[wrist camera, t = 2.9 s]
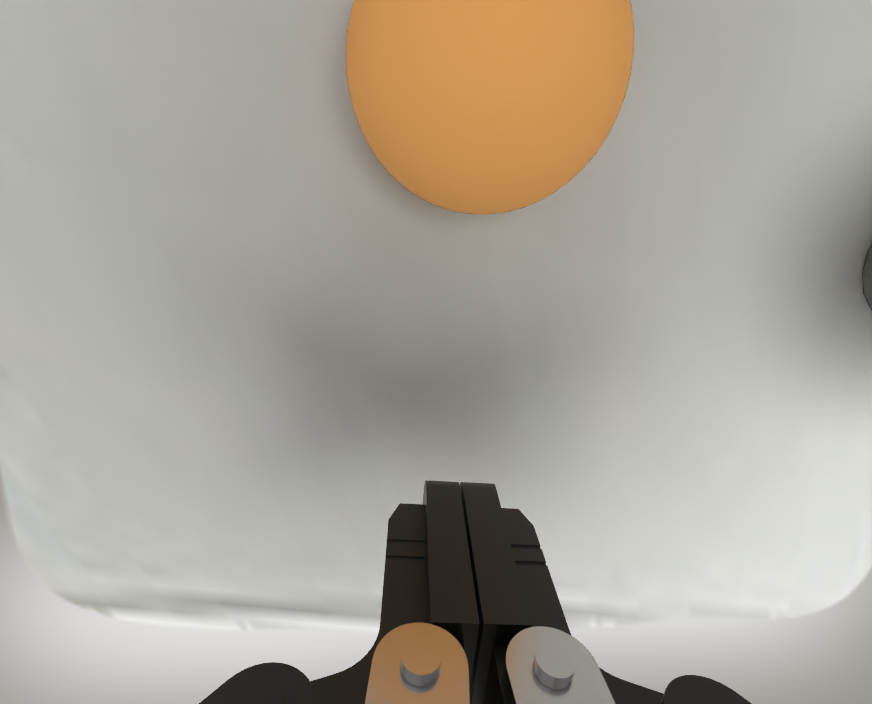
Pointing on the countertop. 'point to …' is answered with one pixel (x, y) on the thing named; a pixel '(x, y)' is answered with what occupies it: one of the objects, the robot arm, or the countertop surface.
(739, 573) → the countertop surface
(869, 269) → the beverage cup
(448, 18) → the ball
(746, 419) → the countertop surface
